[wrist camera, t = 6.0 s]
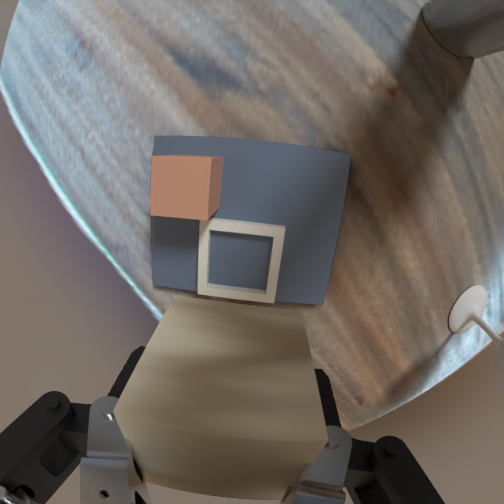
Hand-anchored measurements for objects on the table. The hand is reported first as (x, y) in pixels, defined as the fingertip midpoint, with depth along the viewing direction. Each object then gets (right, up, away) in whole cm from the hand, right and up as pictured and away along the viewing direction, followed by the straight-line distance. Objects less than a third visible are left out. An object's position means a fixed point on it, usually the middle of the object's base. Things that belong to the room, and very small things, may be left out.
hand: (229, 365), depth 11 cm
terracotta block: (-5, +12, +16) cm, 20 cm away
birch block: (0, 0, +1) cm, 1 cm away
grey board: (0, +8, +19) cm, 20 cm away
